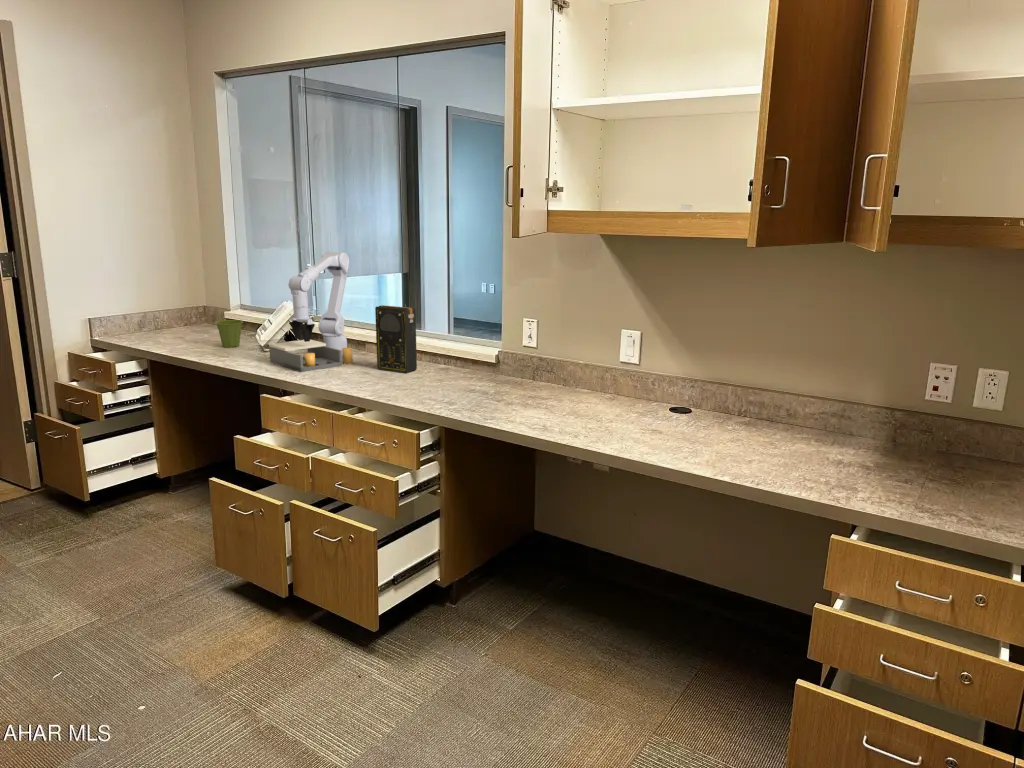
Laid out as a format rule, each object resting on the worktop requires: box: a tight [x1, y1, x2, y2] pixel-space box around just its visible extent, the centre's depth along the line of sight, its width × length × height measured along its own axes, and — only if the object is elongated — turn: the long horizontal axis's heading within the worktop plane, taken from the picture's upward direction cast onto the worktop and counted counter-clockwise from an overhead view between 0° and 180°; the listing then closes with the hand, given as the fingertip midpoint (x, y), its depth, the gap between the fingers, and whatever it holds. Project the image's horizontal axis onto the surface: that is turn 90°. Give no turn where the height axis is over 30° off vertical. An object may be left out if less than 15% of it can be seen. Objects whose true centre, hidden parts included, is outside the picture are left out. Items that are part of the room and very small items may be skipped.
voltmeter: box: [374, 304, 418, 374], centre depth 283 cm, size 16×9×25 cm, turn 60°
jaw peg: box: [342, 347, 354, 365], centre depth 298 cm, size 4×4×6 cm
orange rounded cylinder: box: [303, 352, 315, 367], centre depth 286 cm, size 4×4×6 cm
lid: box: [268, 338, 326, 352], centre depth 298 cm, size 18×14×2 cm
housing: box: [268, 346, 343, 373], centre depth 295 cm, size 18×26×6 cm
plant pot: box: [214, 319, 244, 348], centre depth 331 cm, size 12×12×11 cm
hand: (302, 340), depth 294 cm, fingers open, 7 cm apart
